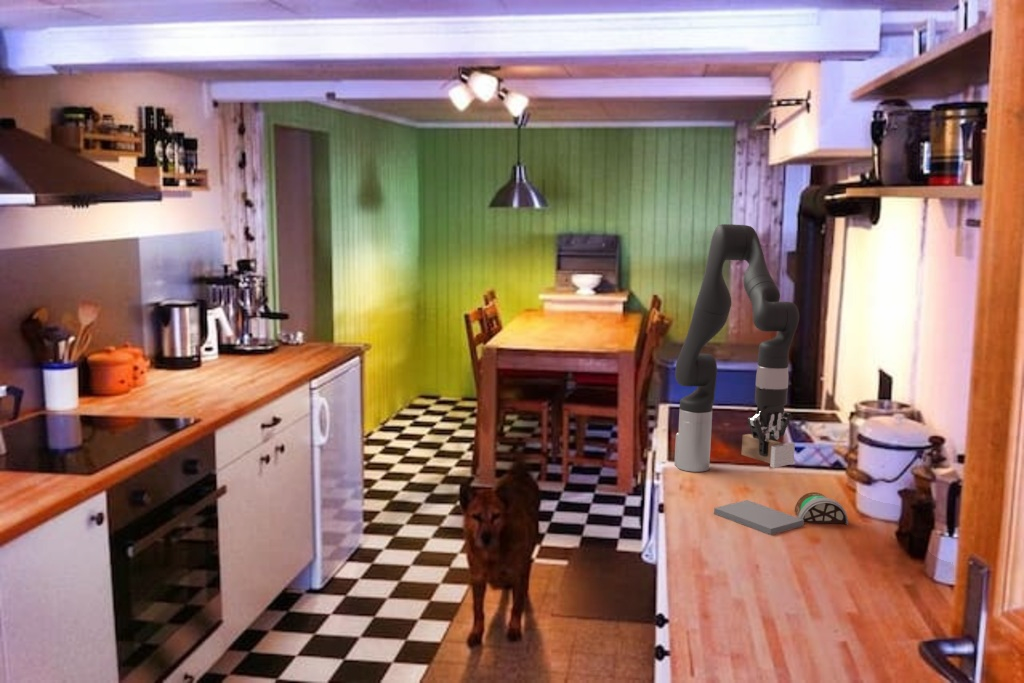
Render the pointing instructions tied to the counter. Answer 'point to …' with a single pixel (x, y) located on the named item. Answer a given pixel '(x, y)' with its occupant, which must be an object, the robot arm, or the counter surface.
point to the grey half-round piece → (820, 509)
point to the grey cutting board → (759, 517)
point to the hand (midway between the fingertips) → (767, 454)
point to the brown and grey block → (769, 451)
